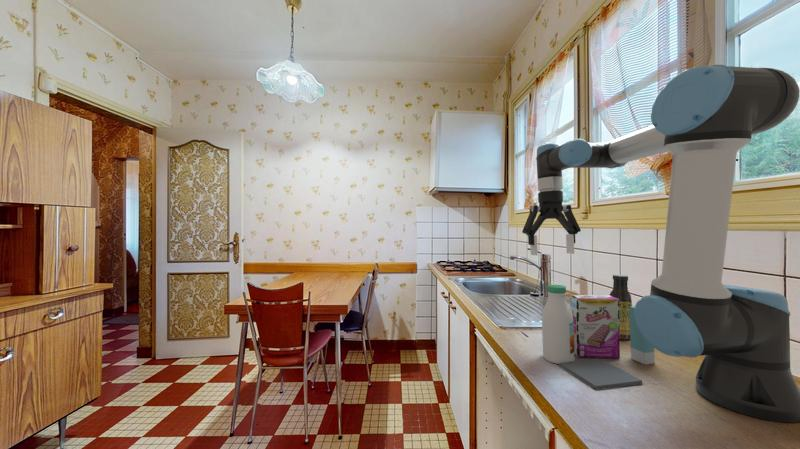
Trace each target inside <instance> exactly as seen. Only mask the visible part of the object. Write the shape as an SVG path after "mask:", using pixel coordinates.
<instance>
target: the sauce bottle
mask: <svg viewBox="0 0 800 449" xmlns="http://www.w3.org/2000/svg"><path fill="white" fill-rule="evenodd" d="M612 280H613V283H612V284H613V286H612V291H610V293H609V295H610V296H613V297H615V298H618V299H619V331H620V335H619V336H620V340H630V309H629V307H630V306H633V302H632V295H631V293H630V291H629V290H628V289H629V288H628V282H629V276H628V275H626V274H617V273H616V274H615V273H614V274H612Z"/></svg>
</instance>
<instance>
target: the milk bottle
mask: <svg viewBox="0 0 800 449" xmlns="http://www.w3.org/2000/svg"><path fill="white" fill-rule="evenodd" d="M546 290H547V294H548V296H547V301H546V303H545V305H544V307H543V311H542V315H541V316H542V318H541V319H542V320H541V332H542V333H541V334H542V340H541V341H542V356H543V358H544V359H545V360H546V361H548V362H550V363H552V364H556V365H557V364H558V365H560V363H566V362H575V357H576V355H575V354H574V325H573V316H572V312H571V310H570V305H568V302H567V299H566V295H567V286H565V285H561V284H548V285H547V287H546Z"/></svg>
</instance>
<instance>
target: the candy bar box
mask: <svg viewBox="0 0 800 449" xmlns="http://www.w3.org/2000/svg"><path fill="white" fill-rule="evenodd" d="M569 308H570V310H571V312H572V316H573V325H574V355H575V357H577V358H592V359H593V358H594V359H620V358H621V356H620V354H621V352H620V351H621V348H620V347H621V345H620V343H621V342H620V340H621V339H620V336H619V335H620V331H619V299H618V298H615V297H613V296H610V294H609V295H608V294H570V295H569Z"/></svg>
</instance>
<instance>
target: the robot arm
mask: <svg viewBox="0 0 800 449" xmlns="http://www.w3.org/2000/svg"><path fill="white" fill-rule="evenodd" d="M799 99H800V88H799V84H798V82H797V80H796V79H795V77H794V76H791V74H789V73H787V72H785V71H784V70H780V69H777V68H773V67H747V66H746V67H745V66H729V65H725V64H712V65H700V66H693V67H691V68H688V69H685V70H683V71H681V72H679V73H678V74H677V75H675V76H674V77H672V78H671V79H670V80H668V81H667V83H666V85H665V86H664V87H663V88H661V89H660V90H659V92H658V94H657V95H656V97H655V99H654V101H653V104H652V106H651V112H650V121H651V125H650V126H647V127H644V128H642V129H639V130H636V131H633V132H631V133H629V134H626V135H623V136H620V137H618V138H616V139H612V140H610V141H607V142H589V141H586V140H585V139H583V138H575V139H573V140H572V139H571V140H569V141H567V142H566V141H565V143H563V144H559V143H555V142H554V143H553V142H552V143H545V144H542V145H539V146H538V147H537V149H536V156H535V157H536V158H535V160H536V172H537V173H536V174H537V175H536V176H537V191H538V193H537V201H538V204H539V205H536V204H535V205H531V206H530V207H529V208H530V209H529V213H528V217H527V219H526V221H525V224H524V226H523V228H522V231H521V232H522V234H525V235H526V236H527V240H528V245H530V256H538V255H539V253H538V235H537V234H536V233H537V231H538V230H539V229H540V227H541V226H542V224H543V223H544V221H546V220H554V219H555V220H556V221H557V222H558V223H559V224H560V225H561V226H562V227H563V229H564V231H566V232H567V233H568V234H565V245H566V247H565V248H566V254H572V255H575V244H576V235H578V233H580V232H581V228H580V226H579V224H578V221H577V220H576V218H575V215H574V213H573V210H572V206H571V204H566V205H563V202H564V195H563V194H564V192H563V191H562V190H563V189H564V188H563V187H564V186H563V170H567V169H578V168H579V169H584V168H585V169H590V168H592V169H593V168H594V169H596V168H597V169H598V168H599V169H603V168H604V169H615V168H616V169H617V168H622V167H624V166H625V165H626V164H628V163H630V162H633V161H636V160H639V159H640V160H641V159H644V158H648V157H653V156H655V155H658V154H662V153H663V154H664V153H667V152H668V153H670V154H671V155H672V162H671V172H670V181H669V182H670V184H669V194H668V201H667V202H668V204H667V214H666V226H665V236H664V237H665V238H664V246H663V248H664V249H663V257H662V265H661V266H662V268H661V274H660V275H658V276H657V277H655V278H654V279H652V280H651V281H650V282H651V284H650V292H649V293H650V294H649V295H645V296H643V297H641V298H640V299H639V300H638V301H637V302H636V303H635V305H634V306H635V309H634V317H635V322H636V325H637V327H638V329H639V331H640V332H641V333H642V334H643V336H644V338H645V339H646V341H647V342H648V343H649V344H650V345H651V346H653V347H654V350H657V351H658V352H659V353H662V354H664V355H667V356H671V357H675V358H697V357H700V356H704V357H703V359H702V361H701V364H700V366H699V369H698V371H697V373H696V375H695V389H696V391H697V392H698V393H699V394H700V395H701V396H702V397H704V398H705V399H707V401H708V400H709V401H711V402H712V403H714V404H716V405H718V406H720V407H722V408H726V409H727V410H731V411H734V412H737V413H739V414H742V415H747V416H749V417H753V418H757V419H762V420H766V421H771V422H780V423H800V388H799V386H798V384H797V382H796V380H795V377H794V376H793V374H792V371H791V370H792V369H791V343H790V342H791V341H790V339H791V338H790V337H791V334H790V316H791V312H790V311H789V303H788V300H787V298H786V297H785V295H784V294H781V293H779V292H777V291H776V292H775V291H770V290H765V289H758V288H751V287H747V286H745V287H744V286H737V285H730V284H729V285H728V284H723V283H722V280H723V273H724V265H725V264H724V263H725V255H726V247H727V239H728V230H729V223H730V211H731V207H732V206H731V203H732V196H733V187H734V181H735V180H734V179H735V170H736V162H737V154H738V152H739V150H741V149H742V148H744V147H745V146H747V145H748V144H750V143H751V141H752V136H753V135H757V134H760V133H764V132H766V131H769V130H771V129H773V128H775V127H777V126H779V125H781V124H782V123H783V122H784V121H785V120H786V119H788V117H789V116H790V115H791V114H792V113H793V112H794V110H795V109H796V107H797V105H798V102H799ZM538 212H539V214H538ZM537 215H538V216H537ZM536 217H537V219H536ZM535 234H536V235H535Z"/></svg>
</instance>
